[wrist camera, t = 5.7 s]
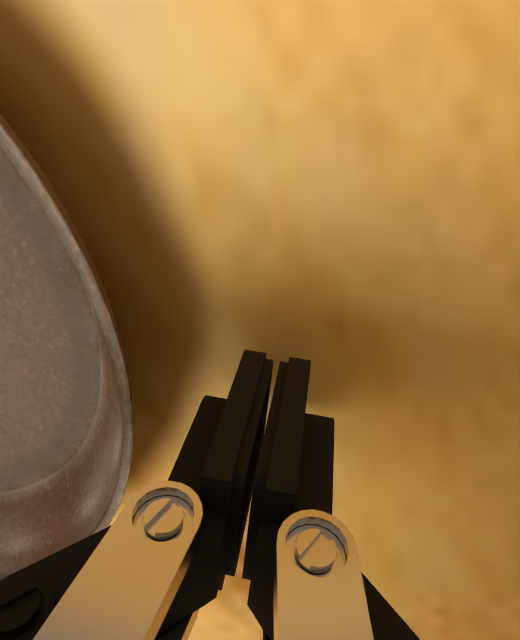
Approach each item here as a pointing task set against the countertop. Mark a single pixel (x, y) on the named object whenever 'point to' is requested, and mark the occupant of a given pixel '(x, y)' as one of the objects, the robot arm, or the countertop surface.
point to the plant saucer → (54, 374)
